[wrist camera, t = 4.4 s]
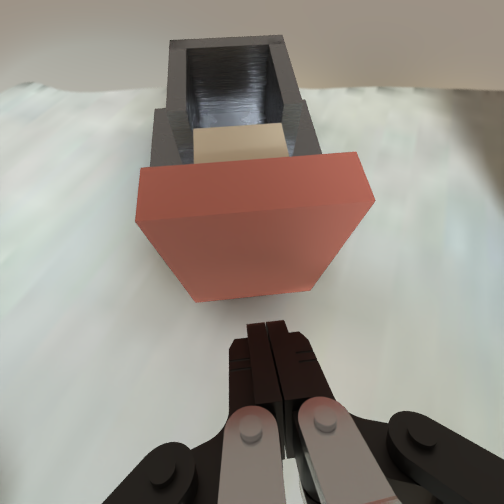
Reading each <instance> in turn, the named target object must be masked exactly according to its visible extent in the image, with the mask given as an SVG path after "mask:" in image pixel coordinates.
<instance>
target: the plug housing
mask: <svg viewBox="0 0 504 504" xmlns="http://www.w3.org/2000/svg"><path fill="white" fill-rule="evenodd" d="M168 65H169V66H168V83H167V101H166V108H162V109H155V112H154V124H153V136H152V149H151V161H150V167H159V166H172V165H186V164H194V141H193V129H197V128H212V127H227V126H242V125H256V124H271V123H281V124H282V128H283V132H284V137H285V141H286V145H287V149H288V154H289V157H292V156H305V155H319V154H322V152H321V149H320V146H319V142H318V139H317V136H316V133H315V130H314V126H313V123H312V120H311V117H310V114H309V110H308V107H307V104H306V101H305V100H302V98H301V95H300V91H299V88H298V85H297V82H296V78H295V75H294V72H293V69H292V65H291V62H290V59H289V55H288V52H287V49H286V46H285V42H284V39H283V36H282V35H269V36H250V37H249V36H248V37H227V38H206V39H185V40H170V46H169V64H168Z"/></svg>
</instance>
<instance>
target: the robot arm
mask: <svg viewBox="0 0 504 504" xmlns="http://www.w3.org/2000/svg"><path fill="white" fill-rule="evenodd" d="M247 334H248V338H241V339H234V341H233V343H232V345H231V347H230V348H229V415H228V419H227V421H226V424H225V425H224V427H223V428H222V430H221V431H220V432H219V433H218V434H217V435H216V436H215V437H214V438H212V439H211V440H209V441H207V442H205V443H203V444H201V445H199V446H197V447H195V448H193V449H191V450H190V449H189V448H188V447H187V446H186V445H184V444H182V443H179V442H169V443H165V444H163V445H160V446H158V447H157V448H155V449H153V450H152V451H151V452H150V453H148V454H147V455H146V456H145V457H144V459H143V460H142V461H141V462H140V463H139V464H138V465H137V466H136V467H135V468H134V469H133V470H132V472H131V473H130V474H129V475H128V476H127V477H126V478H125V479H124V480H123V481H122V482H121V483H120V485H119V486H118V487H117V488H116V489H115V490H114V491H113V492H112V493H111V494H110V495H109V496H108V497H107V499H106V500H105V501H104V502H103V503H102V504H286V498H285V489H284V479H283V463H282V460H283V459H285V450H286V456H287V459H289V458H296V463H297V467H298V472H299V487H300V492H301V496H302V499H303V503H304V504H504V460H503V459H502V458H500V457H498V456H496V455H495V454H493V453H491V452H489V451H487V450H486V449H484V448H482V447H480V446H479V445H477V444H475V443H473V442H471V441H470V440H468V439H466V438H464V437H463V436H461V435H459V434H457V433H455V432H454V431H452V430H450V429H448V428H447V427H445V426H443V425H441V424H439V423H438V422H436V421H434V420H432V419H430V418H429V417H427V416H425V415H422V414H419V413H416V412H411V411H402V412H398V413H396V414H394V415H393V416H392V417H391V418H390V420H389V423H384V422H378V421H373V420H367V419H363V418H360V417H357V416H355V415H353V414H351V413H349V412H348V411H347V410H346V409H345V407H344V406H342V405H341V404H340V403H338V402H337V401H336V400H335V398H334V396H333V394H332V391H331V389H330V387H329V385H328V383H327V380H326V378H325V376H324V374H323V371H322V369H321V367H320V365H319V363H318V361H317V358H316V356H315V354H314V352H313V349H312V347H311V345H310V342H309V340H308V339H307V338H306V337H305V336H304V335H302V334H301V333H300V332H291V333H289V332H288V330H287V327H286V324H285V321H284V320H280V321H271V322H266V326H265V323H264V322H263V323H254V324H247ZM284 445H285V450H284Z"/></svg>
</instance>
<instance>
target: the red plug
mask: <svg viewBox="0 0 504 504" xmlns="http://www.w3.org/2000/svg"><path fill="white" fill-rule="evenodd" d="M193 141H194V164H186V165H172V166H159V167H146V168H141V169H140V178H139V188H138V198H137V208H136V217H135V222H136V223H137V225H138V226H139V227H140V229H141V230H142V231H143V233H144V234H145V235H146V237H147V238H148V240H149V241H150V242H151V244H152V245H153V246H154V248H155V249H156V250H157V252H158V253H159V254H160V256H161V257H162V258H163V260H164V261H165V262H166V264H167V265H168V266H169V268H170V269H171V270H172V272H173V273H174V274H175V276H176V277H177V278H178V280H179V281H180V282H181V284H182V285H183V286H184V288H185V289H186V290H187V292H188V293H189V294H190V296H191V297H192V298H193V300H194V301H195V302H196V303H197V302H207V301H216V300H226V299H235V298H244V297H254V296H263V295H273V294H282V293H292V292H301V291H310V290H311V289H312V287H313V286H314V285H315V283H316V282H317V281H318V279H319V278H320V276H321V275H322V274H323V272H324V271H325V270H326V268H327V267H328V265H329V264H330V263H331V261H332V260H333V259H334V257H335V256H336V254H337V253H338V252H339V250H340V249H341V248H342V246H343V245H344V243H345V242H346V241H347V239H348V238H349V237H350V235H351V234H352V232H353V231H354V230H355V228H356V227H357V226H358V224H359V223H360V221H361V220H362V219H363V217H364V216H365V215H366V213H367V212H368V210H369V209H370V208H371V206H372V205H373V204H374V202H375V198H374V195H373V193H372V190H371V188H370V185H369V183H368V180H367V178H366V175H365V173H364V170H363V167H362V165H361V162H360V160H359V157H358V155H357V152H345V153H332V154H319V155H305V156H292V157H289V154H288V149H287V145H286V141H285V137H284V132H283V128H282V124H281V123H271V124H256V125H242V126H227V127H212V128H197V129H193Z"/></svg>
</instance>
